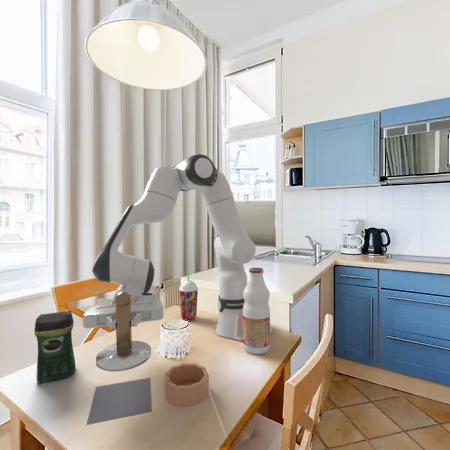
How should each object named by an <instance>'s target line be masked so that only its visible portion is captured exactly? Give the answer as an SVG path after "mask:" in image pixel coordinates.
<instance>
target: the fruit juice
mask: <svg viewBox="0 0 450 450" xmlns="http://www.w3.org/2000/svg"><path fill="white" fill-rule="evenodd" d="M248 272H249V273H248V274H249V277H248V280H247V286H246V287H245V289H244V291H243V298H244V305H243V341H242V348H243V350H244V351H245V352H246V353H248V354H252V355H264V354H266V353H268V352H269V351H270V348H271V333H270V326H271V309H270V304H269V300H270V290H269V289H268V287H267V285H266V281H265V280H264V276H263V275H264V268H263V267H250V268H248Z"/></svg>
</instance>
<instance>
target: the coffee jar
mask: <svg viewBox="0 0 450 450" xmlns="http://www.w3.org/2000/svg"><path fill="white" fill-rule="evenodd" d="M73 328H74V317H73V313H72V311H71V310H65V311H60V312H59V311H58V312H49V313H40V315H38V316H37V317H36V319H35V324H34V330H33V331H34V335H35V338H36V340H37V341H36V342H37V358H36V361H37V363H36V382H37V383H39V384H45V383H53V382H58V381H62V380H65V379H68V378H70V377H71V376H73V375H74V373H75V371H76V358H75V353H74V347H73V340H72V339H73V338H72V337H73V336H72V331H73Z"/></svg>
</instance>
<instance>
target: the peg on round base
mask: <svg viewBox="0 0 450 450" xmlns="http://www.w3.org/2000/svg"><path fill="white" fill-rule="evenodd" d="M114 302H115V310H116V329H115V337H116V338H115V341H116V343H113V344H110V345H108V346H106V347H104V348H102V349H101V350H100V351H99V352H98V353H97V354H96V356H95V364H96V366H97V368H98V369H101V370H103V371H106V372H124V371H127V370H131V369H135V368H137V367H139V366H141V365H143V364H144V363H146V362H147V361H148V360H149V359H150V358H151V356H152V347H151V346H150V344H148V343H147V342H144V341H140V340H132V337H133V336H132V327H131V295H130V294H129V293H128V292H120V293H118V294H117V295H116V296H115V299H114Z"/></svg>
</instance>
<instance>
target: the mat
mask: <svg viewBox="0 0 450 450" xmlns="http://www.w3.org/2000/svg"><path fill="white" fill-rule="evenodd" d="M94 389H95V390H94V395H93V398H92V402H91V405H90V409H89V413H88V417H87V421H86V426H87V425H92V424H96V423H97V424H98V423H101V422H107V421H112V420H117V419H122V418H128V417H132V416H136V415H142V414H146V413H147V414H148V413H151V412H153V409H152V391H151V389H152V388H151V377H145V378H141V379H134V380H129V381H122V382H117V383H111V384H103V385H99V386H95V388H94Z"/></svg>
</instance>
